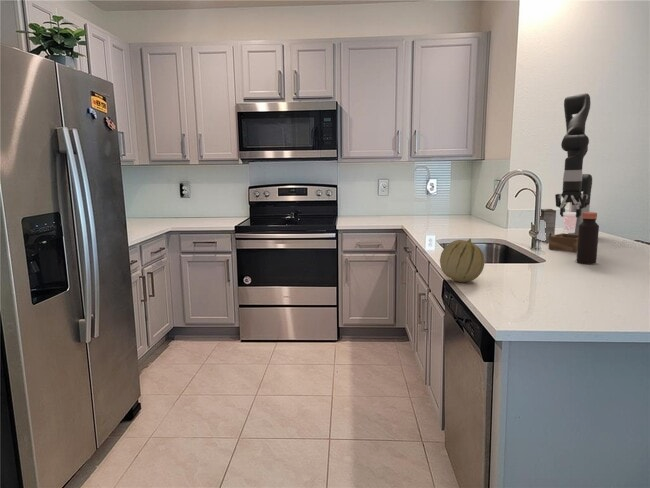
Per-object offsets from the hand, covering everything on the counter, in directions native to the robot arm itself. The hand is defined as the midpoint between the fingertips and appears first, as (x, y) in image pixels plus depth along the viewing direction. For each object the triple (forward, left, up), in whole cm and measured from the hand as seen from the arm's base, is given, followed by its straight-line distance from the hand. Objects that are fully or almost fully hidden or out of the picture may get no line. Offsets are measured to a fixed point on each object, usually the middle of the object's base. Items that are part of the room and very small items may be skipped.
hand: (570, 216), depth 199 cm
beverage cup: (0, 0, -7) cm, 7 cm away
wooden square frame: (0, 0, -15) cm, 15 cm away
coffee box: (-15, -19, -15) cm, 28 cm away
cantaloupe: (+84, +5, -15) cm, 85 cm away
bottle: (+24, +19, -15) cm, 34 cm away
